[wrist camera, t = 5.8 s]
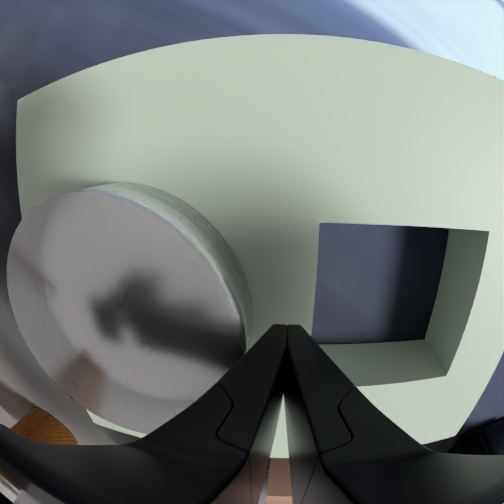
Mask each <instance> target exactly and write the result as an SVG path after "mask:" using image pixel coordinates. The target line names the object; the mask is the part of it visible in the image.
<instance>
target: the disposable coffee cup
mask: <svg viewBox="0 0 504 504" xmlns="http://www.w3.org/2000/svg"><path fill="white" fill-rule="evenodd" d="M11 430H12V431H13V432H15V433H16V434H18V435H20V436H22V437H24V438H27V439H29V440H33V441H37V442H42V443H49V444H63V445H77V441H76V440H75V438H74V437H73V436H72V434H71V433H70V432H69V431H68V430H67V429H66V428H65V427H64V426H63V425H62V424H61V423H60V422H58V421H57V420H56V419H55V418H54V417H52V416H51V415H49V414H48V413H46V412H45V411H43V410H41V409H39V408H33V409H32V410H31V411H30V412H29V413H28V414H26V415H25V416H24V417H23V418H22V419H21V420H20V421H18V422H17V423H16V424H15V425H14V426H13V427H12V428H11ZM21 490H22V489H21V488H19V487H18V486H17V485H16V484H15V483H14V482H13V481H12V480H11V479H10V478H8V477H7V476H6V475H5V474H4V473H3V472H2V471H1V470H0V492H1V493H2V494H3V495H5V496H6V497H7V498H8V499H9V500H11V501H12V502H14V501H15V499H16V498H17V496H18V494H19V493H20V491H21Z"/></svg>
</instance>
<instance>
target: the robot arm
mask: <svg viewBox="0 0 504 504" xmlns="http://www.w3.org/2000/svg"><path fill="white" fill-rule="evenodd" d="M283 394H284V407H285V418H286V429H287V440H288V452H289V464H290V476H291V489H292V502H293V504H504V419H501V420H499V421H496V422H494V423H491V424H489V425H486V426H483V427H480V428H478V429H475V430H472V431H469V432H467V433H465V434H464V435H463V436H462V437H461V438H460V440H459V441H458V442H457V444H456V445H455V446H454V448H453V449H452V450H451V451H450V453H449V454H448V453H440V452H436V451H433V450H430V449H428V448H426V447H425V446H423V445H421V444H420V443H419V442H417V441H416V440H415V439H414V438H412V437H411V436H410V435H409V434H407V433H406V432H405V431H404V430H402V429H401V428H400V427H399V426H398V425H396V424H395V423H394V422H393V421H391V420H390V419H389V418H388V417H387V416H385V415H384V414H383V413H382V412H381V411H380V410H379V409H378V408H376V407H375V406H374V405H373V404H372V403H371V402H370V401H369V400H368V399H367V398H366V397H365V396H364V395H363V394H362V393H361V391H360V390H359V389H358V388H357V387H356V386H354V384H353V383H352V382H351V381H350V379H349V378H348V377H347V376H346V375H345V374H344V373H343V372H342V371H341V369H340V368H339V367H338V366H337V365H336V364H335V363H334V362H333V360H332V359H331V358H330V357H329V356H328V355H327V354H326V353H325V352H324V350H323V349H322V348H321V347H320V346H319V345H318V344H317V343H316V341H315V340H314V339H313V338H312V337H311V336H310V335H309V334H308V332H307V331H306V330H305V329H304V328H303V327H302V326H301V325H299V324H288V325H285V324H273V325H272V326H271V327H270V328H269V329H268V330H267V331H266V332H265V333H264V334H263V335H262V336H261V337H260V339H259V340H258V341H257V342H256V343H255V344H254V345H253V346H252V347H251V348H250V349H249V350H248V351H247V352H246V353H245V354H244V355H243V356H242V357H241V358H240V359H239V360H238V361H237V362H236V363H235V364H234V365H233V366H232V367H231V368H230V369H229V370H228V371H227V372H226V373H225V374H224V375H223V376H222V377H221V378H220V379H219V380H218V381H217V382H216V383H215V384H214V385H213V386H212V387H211V388H210V389H209V390H208V391H206V392H205V393H204V394H203V395H202V396H201V397H200V398H199V399H197V400H196V401H195V402H194V403H192V404H191V405H190V406H188V407H187V408H186V409H184V410H183V411H182V412H180V413H179V414H177V415H176V416H174V417H173V418H172V419H170V420H169V421H167V422H166V423H164V424H163V425H161V426H160V427H158V428H157V429H155V430H154V431H152V432H151V433H149V434H147V435H146V436H144V437H142V438H140V439H138V440H136V441H134V442H131V443H127V444H122V445H63V444H49V443H42V442H37V441H33V440H29V439H27V438H24V437H22V436H20V435H18V434H16V433H15V432H13V431H12V430H11V429H9V428H8V427H6V426H4V425H2V424H0V470H1V471H2V472H3V473H4V474H5V475H6V476H7V477H8V478H10V479H11V480H12V481H13V482H14V483H15V484H16V485H17V486H18V487H19V488H21V489H22V490H21V491H20V493H19V494H18V496H17V498H16V499H15V501H14V502H12V501H11V500H9V499H8V498H7V497H6V496H5V495H3V494H2V493H1V492H0V504H258V501H259V497H260V494H261V490H262V486H263V482H264V479H265V475H266V471H267V467H268V463H269V459H270V454H271V450H272V446H273V442H274V437H275V433H276V428H277V424H278V419H279V415H280V410H281V405H282V400H283Z"/></svg>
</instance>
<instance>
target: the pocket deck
mask: <svg viewBox="0 0 504 504" xmlns="http://www.w3.org/2000/svg"><path fill="white" fill-rule="evenodd" d="M16 163H17V179H18V191H19V200H20V208H21V216H22V219H23V218H24V217H25V216H26V214H27V213H28V212H29V211H30V210H31V209H33V208H34V207H35V206H36V205H38V204H39V203H41V202H43V201H45V200H47V199H49V198H51V197H54V196H58V195H62V194H66V193H69V192H73V191H77V190H81V189H86V188H90V187H94V186H98V185H103V184H109V183H114V182H132V183H139V184H145V185H149V186H152V187H155V188H158V189H161V190H164V191H166V192H168V193H170V194H172V195H174V196H176V197H178V198H180V199H181V200H183V201H184V202H186V203H187V204H189V205H190V206H192V207H193V208H195V209H196V210H197V211H198V212H199V213H200V214H202V215H203V216H204V217H205V218H206V219H207V220H209V222H210V223H211V224H212V225H213V226H214V227H215V228H216V229H217V230H218V231H219V233H220V234H221V235H222V236H223V238H224V239H225V240H226V242H227V243H228V245H229V246H230V247H231V249H232V250H233V252H234V254H235V256H236V258H237V259H238V261H239V263H240V265H241V267H242V269H243V272H244V275H245V277H246V280H247V283H248V286H249V290H250V295H251V299H252V308H253V325H252V334H251V339H250V344H249V349H250V348H251V347H252V346H253V345H254V344H255V343H256V342H257V341H258V340H259V339H260V337H261V336H262V335H263V334H264V333H265V332H266V331H267V330H268V329H269V328H270V327H271V326H272V325H273V324H285V325H288V324H299V325H301V326H302V327H303V328H304V329H305V330H306V331H307V332H308V334H309V335H310V336H311V333H312V323H313V312H314V301H315V288H316V274H317V259H318V240H319V223H350V224H377V225H400V226H419V227H437V228H449V233H448V240H447V246H446V252H445V258H444V263H443V268H442V273H441V278H440V283H439V287H438V291H437V296H436V300H435V304H434V307H433V311H432V315H431V318H430V322H429V325H428V329H427V332H426V335H425V338H424V339H423V340H412V341H399V342H384V343H364V344H320V345H319V346H320V347H321V348H322V349H323V350H324V352H325V353H326V354H327V355H328V356H329V357H330V358H331V359H332V360H333V362H334V363H335V364H336V365H337V366H338V367H339V368H340V369H341V371H342V372H343V373H344V374H345V375H346V376H347V377H348V378H349V379H350V381H351V382H352V383H353V384H354V386H356V387H357V388H358V389H359V390H360V391H361V393H362V394H363V395H364V396H365V397H366V398H367V399H368V400H369V401H370V402H371V403H372V404H373V405H374V406H375V407H376V408H378V409H379V410H380V411H381V412H382V413H383V414H384V415H385V416H387V417H388V418H389V419H390V420H391V421H393V422H394V423H395V424H396V425H398V426H399V427H400V428H401V429H402V430H404V431H405V432H406V433H407V434H409V435H410V436H411V437H412V438H414V439H415V440H416V441H417V442H419V443H420V444H421V445H422V444H427V443H431V442H435V441H439V440H442V439H446V438H450V437H453V436H455V435H456V434H457V433H458V431H459V430H460V428H461V427H462V425H463V424H464V422H465V421H466V419H467V418H468V416H469V415H470V413H471V411H472V410H473V408H474V407H475V405H476V403H477V402H478V400H479V398H480V397H481V395H482V393H483V391H484V389H485V388H486V386H487V384H488V382H489V380H490V378H491V376H492V374H493V373H494V371H495V369H496V366H497V364H498V362H499V360H500V358H501V356H502V354H503V352H504V81H502V80H500V79H498V78H496V77H493V76H491V75H489V74H486V73H484V72H482V71H479V70H477V69H474V68H471V67H469V66H466V65H463V64H460V63H457V62H455V61H452V60H448V59H445V58H442V57H439V56H435V55H432V54H428V53H425V52H421V51H417V50H413V49H409V48H405V47H400V46H395V45H390V44H385V43H380V42H374V41H367V40H361V39H353V38H344V37H335V36H322V35H303V34H263V35H244V36H231V37H221V38H212V39H205V40H198V41H191V42H185V43H180V44H174V45H169V46H164V47H160V48H155V49H151V50H147V51H143V52H139V53H135V54H131V55H128V56H124V57H121V58H117V59H114V60H111V61H108V62H105V63H102V64H99V65H96V66H93V67H90V68H88V69H85V70H82V71H80V72H77V73H75V74H72V75H70V76H67V77H65V78H62V79H60V80H58V81H55V82H53V83H51V84H49V85H47V86H45V87H42V88H40V89H38V90H36V91H34V92H32V93H30V94H28V95H26V96H25V97H23V98H21V99H19V100H18V101H17V117H16ZM249 349H248V350H249ZM86 410H87V409H86ZM87 412H88V414H89V415H90V417H91V419H92V421H93V422H94V423H95V424H98V425H101V426H104V427H107V428H110V429H113V430H116V431H119V432H122V433H126V434H129V435H133V436H136V437H140V438H142V437H144V436H146V435H147V434H144V433H139V432H135V431H132V430H128V429H125V428H122V427H120V426H117V425H115V424H113V423H110V422H108V421H106V420H104V419H102V418H100V417H99V416H97V415H95V414H93V413H92V412H90V411H89V410H87ZM270 458H289V452H288V440H287V429H286V418H285V407H284V394H283V400H282V405H281V410H280V415H279V419H278V424H277V428H276V433H275V437H274V442H273V446H272V450H271V454H270Z"/></svg>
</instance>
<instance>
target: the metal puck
mask: <svg viewBox="0 0 504 504" xmlns="http://www.w3.org/2000/svg"><path fill="white" fill-rule="evenodd" d="M7 286H8V294H9V299H10V303H11V307H12V311H13V314H14V317H15V320H16V323H17V325H18V327H19V330H20V332H21V334H22V336H23V338H24V340H25V342H26V344H27V346H28V348H29V349H30V351H31V353H32V354H33V356H34V357H35V359H36V360H37V362H38V363H39V364H40V366H41V367H42V368H43V370H44V371H45V372H46V373H47V374H48V376H49V377H50V378H51V379H52V380H53V381H54V382H55V383H56V384H57V385H58V386H59V387H60V388H61V389H62V390H63V391H64V392H65V393H66V394H67V395H69V396H70V397H71V398H72V399H73V400H75V401H76V402H77V403H79V404H80V405H81V406H83V407H84V408H86V409H87V410H89V411H90V412H92V413H93V414H95V415H97V416H99V417H100V418H102V419H104V420H106V421H108V422H110V423H113V424H115V425H117V426H120V427H122V428H125V429H128V430H132V431H135V432H139V433H144V434H149V433H151V432H152V431H154V430H155V429H157V428H158V427H160V426H161V425H163V424H164V423H166V422H167V421H169V420H170V419H172V418H173V417H174V416H176V415H177V414H179V413H180V412H182V411H183V410H184V409H186V408H187V407H188V406H190V405H191V404H192V403H194V402H195V401H196V400H197V399H199V398H200V397H201V396H202V395H203V394H204V393H205V392H206V391H208V390H209V389H210V388H211V387H212V386H213V385H214V384H215V383H216V382H217V381H218V380H219V379H220V378H221V377H222V376H223V375H224V374H225V373H226V372H227V371H228V370H229V369H230V368H231V367H232V366H233V365H234V364H235V363H236V362H237V361H238V360H239V359H240V358H241V357H242V356H243V355H244V354H245V353H246V352H247V351H248V349H249V344H250V339H251V334H252V325H253V308H252V299H251V295H250V290H249V286H248V283H247V280H246V277H245V275H244V272H243V269H242V267H241V265H240V263H239V261H238V259H237V258H236V256H235V254H234V252H233V250H232V249H231V247H230V246H229V245H228V243H227V242H226V240H225V239H224V238H223V236H222V235H221V234H220V233H219V231H218V230H217V229H216V228H215V227H214V226H213V225H212V224H211V223H210V222H209V220H207V219H206V218H205V217H204V216H203V215H202V214H200V213H199V212H198V211H197V210H196V209H195V208H193V207H192V206H190V205H189V204H187V203H186V202H184V201H183V200H181V199H180V198H178V197H176V196H174V195H172V194H170V193H168V192H166V191H164V190H161V189H158V188H155V187H152V186H149V185H145V184H139V183H132V182H114V183H109V184H103V185H98V186H94V187H90V188H86V189H81V190H77V191H73V192H69V193H66V194H62V195H58V196H54V197H51V198H49V199H47V200H45V201H43V202H41V203H39V204H38V205H36V206H35V207H34V208H33V209H31V210H30V211H29V212H28V213H27V214H26V216H25V217H24V218H23V219H22V220H21V222H20V224H19V225H18V227H17V229H16V230H15V233H14V235H13V238H12V241H11V244H10V248H9V252H8V259H7Z"/></svg>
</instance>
